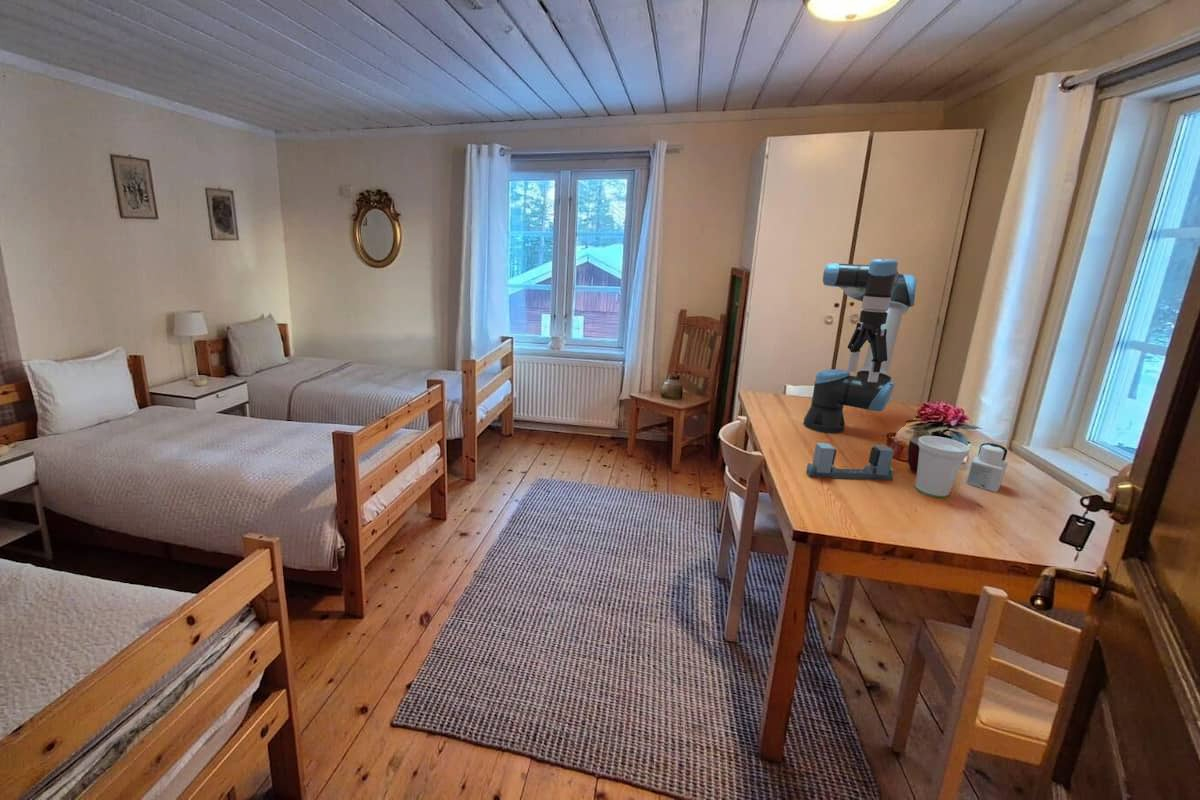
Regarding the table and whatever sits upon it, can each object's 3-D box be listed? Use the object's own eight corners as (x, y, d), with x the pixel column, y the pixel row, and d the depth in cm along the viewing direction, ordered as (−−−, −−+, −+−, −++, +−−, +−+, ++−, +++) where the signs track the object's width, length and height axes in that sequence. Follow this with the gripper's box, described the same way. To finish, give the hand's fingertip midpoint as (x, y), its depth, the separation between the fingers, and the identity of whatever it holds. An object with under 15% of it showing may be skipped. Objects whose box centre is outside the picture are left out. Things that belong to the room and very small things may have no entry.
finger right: (812, 466, 158) (816, 443, 156) (827, 467, 158) (831, 443, 156) (817, 472, 155) (821, 448, 152) (832, 472, 155) (837, 448, 152)
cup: (912, 496, 146) (924, 447, 142) (903, 478, 157) (914, 433, 153) (962, 504, 142) (976, 454, 138) (949, 486, 153) (962, 439, 149)
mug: (936, 481, 156) (944, 452, 153) (907, 476, 159) (914, 447, 156) (929, 469, 166) (936, 440, 163) (901, 464, 168) (908, 436, 165)
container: (971, 476, 161) (981, 438, 157) (1001, 485, 156) (1012, 446, 152) (965, 483, 156) (976, 444, 152) (996, 492, 150) (1008, 452, 147)
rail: (805, 472, 159) (810, 442, 156) (885, 475, 159) (892, 446, 156) (810, 477, 155) (815, 447, 152) (892, 481, 155) (899, 451, 153)
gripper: (910, 316, 145) (894, 387, 151) (866, 306, 169) (854, 368, 175) (884, 315, 145) (869, 386, 151) (844, 305, 169) (833, 367, 175)
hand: (861, 376), depth 163 cm, fingers open, 13 cm apart
